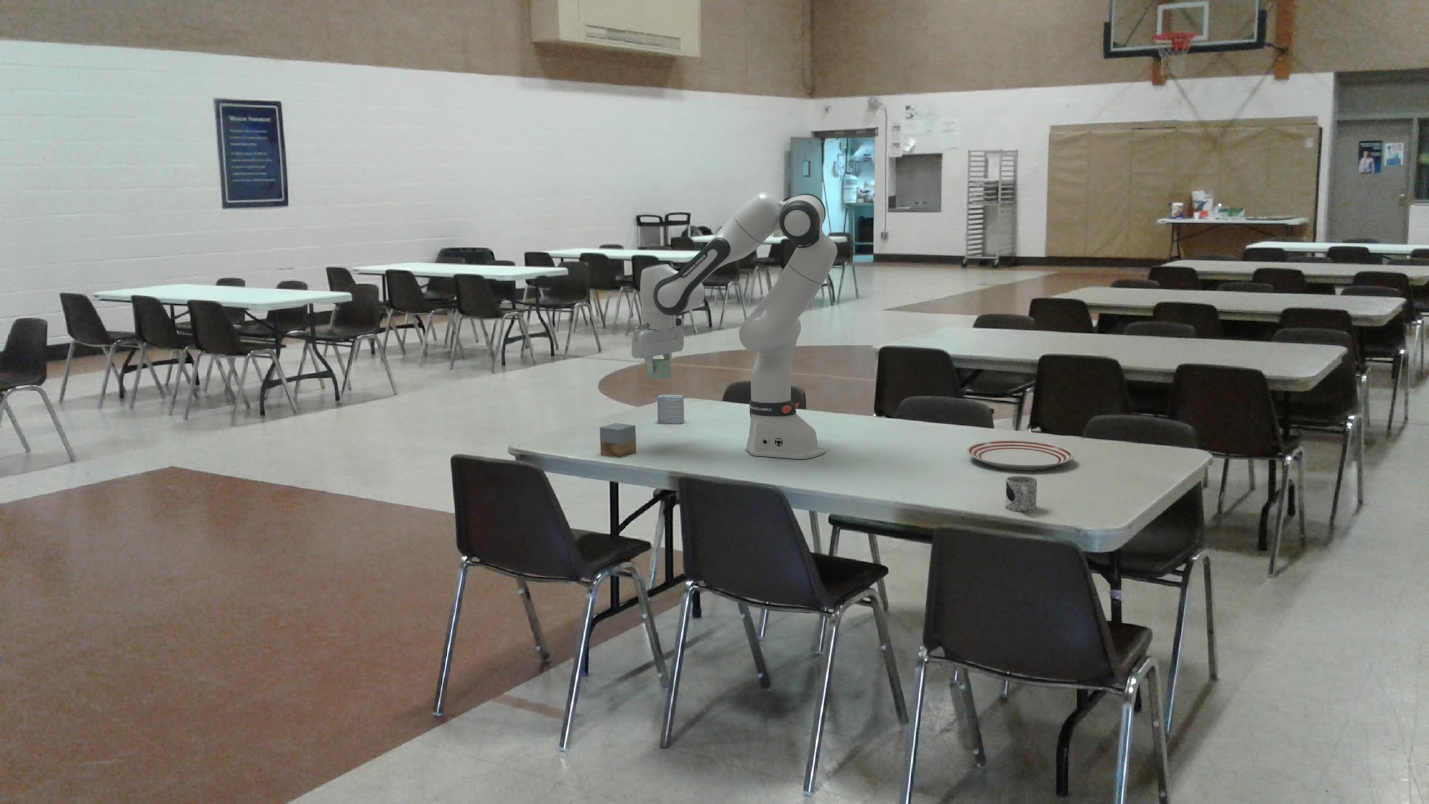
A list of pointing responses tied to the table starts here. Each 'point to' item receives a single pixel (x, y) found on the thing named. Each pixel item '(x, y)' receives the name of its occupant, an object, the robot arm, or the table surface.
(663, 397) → the medicine box
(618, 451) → the tower base
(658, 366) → the sage block
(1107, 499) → the table surface
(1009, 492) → the mug
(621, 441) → the tower top
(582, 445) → the table surface
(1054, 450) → the dinner plate
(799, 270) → the robot arm
